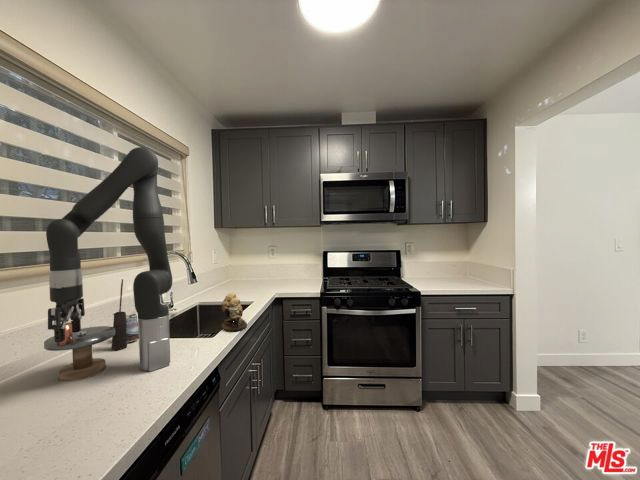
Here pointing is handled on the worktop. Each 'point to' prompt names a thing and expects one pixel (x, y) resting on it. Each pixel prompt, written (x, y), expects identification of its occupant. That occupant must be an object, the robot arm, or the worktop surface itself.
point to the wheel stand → (82, 365)
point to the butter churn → (119, 328)
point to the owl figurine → (233, 313)
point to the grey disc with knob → (80, 338)
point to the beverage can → (132, 327)
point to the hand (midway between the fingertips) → (68, 336)
